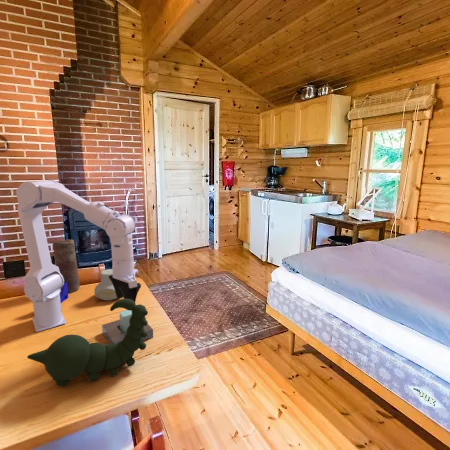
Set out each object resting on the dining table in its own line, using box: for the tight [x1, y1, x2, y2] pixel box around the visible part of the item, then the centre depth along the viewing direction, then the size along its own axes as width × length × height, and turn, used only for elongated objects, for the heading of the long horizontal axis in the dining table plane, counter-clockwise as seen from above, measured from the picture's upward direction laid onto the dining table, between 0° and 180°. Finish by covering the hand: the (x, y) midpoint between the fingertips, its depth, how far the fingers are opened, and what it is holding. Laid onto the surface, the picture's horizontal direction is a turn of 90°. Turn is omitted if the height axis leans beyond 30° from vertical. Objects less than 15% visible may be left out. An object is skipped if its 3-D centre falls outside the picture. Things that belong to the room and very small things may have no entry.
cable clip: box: [60, 283, 69, 304], centre depth 104 cm, size 12×4×6 cm, turn 173°
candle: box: [52, 238, 81, 294], centre depth 114 cm, size 8×7×20 cm
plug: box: [118, 309, 132, 333], centre depth 86 cm, size 3×3×7 cm
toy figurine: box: [26, 298, 149, 388], centre depth 69 cm, size 9×19×25 cm
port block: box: [101, 319, 154, 344], centre depth 87 cm, size 11×11×2 cm
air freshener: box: [93, 268, 118, 302], centre depth 110 cm, size 11×8×10 cm
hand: (125, 302), depth 87 cm, fingers open, 7 cm apart
